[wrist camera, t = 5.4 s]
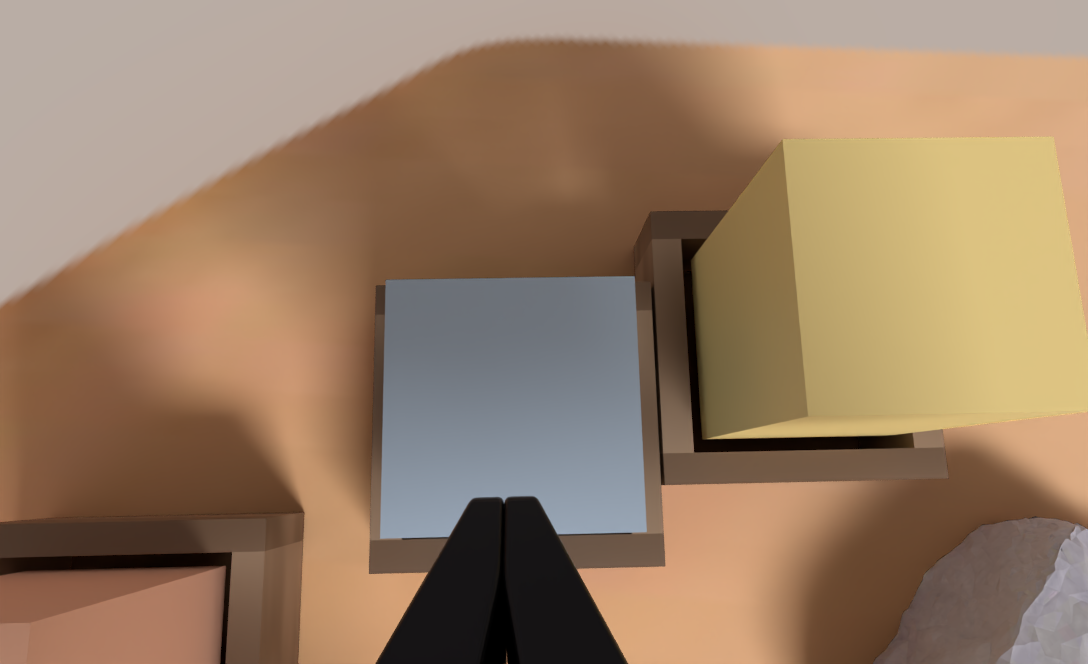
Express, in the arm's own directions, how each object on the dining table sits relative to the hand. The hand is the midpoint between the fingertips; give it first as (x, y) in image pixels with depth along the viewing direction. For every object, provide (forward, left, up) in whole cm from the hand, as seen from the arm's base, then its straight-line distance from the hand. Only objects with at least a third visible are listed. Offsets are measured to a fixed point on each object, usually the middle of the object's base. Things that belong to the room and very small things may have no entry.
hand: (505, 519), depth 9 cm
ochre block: (+7, -5, -10) cm, 13 cm away
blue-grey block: (+2, +1, -12) cm, 12 cm away
